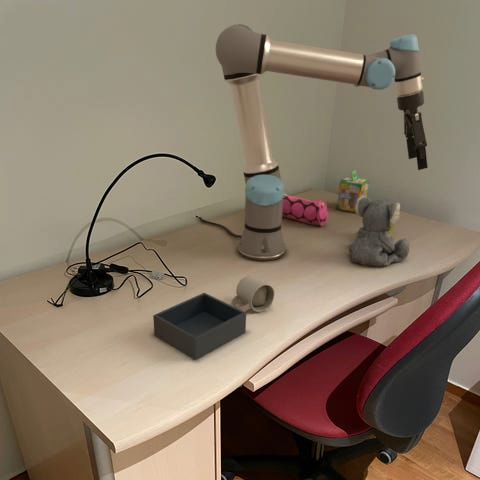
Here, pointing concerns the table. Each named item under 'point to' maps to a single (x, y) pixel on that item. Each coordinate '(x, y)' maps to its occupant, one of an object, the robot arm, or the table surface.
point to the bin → (199, 325)
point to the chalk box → (351, 192)
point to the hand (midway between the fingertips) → (417, 163)
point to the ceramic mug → (254, 294)
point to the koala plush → (377, 234)
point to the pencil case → (305, 210)
